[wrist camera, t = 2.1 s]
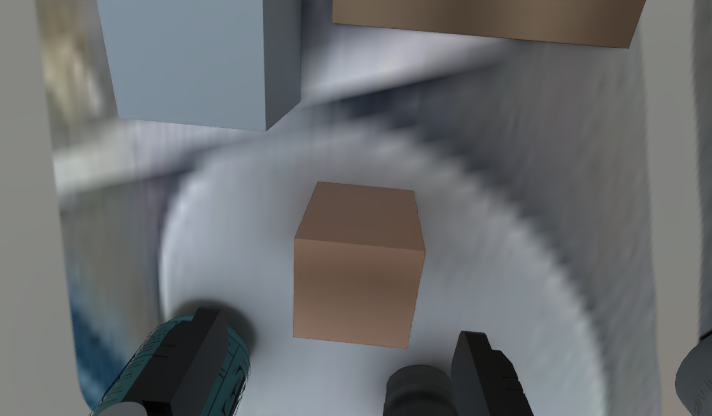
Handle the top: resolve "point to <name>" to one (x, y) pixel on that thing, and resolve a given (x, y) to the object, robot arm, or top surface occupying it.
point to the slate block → (204, 60)
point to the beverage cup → (420, 393)
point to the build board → (503, 18)
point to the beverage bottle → (225, 387)
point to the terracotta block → (357, 265)
